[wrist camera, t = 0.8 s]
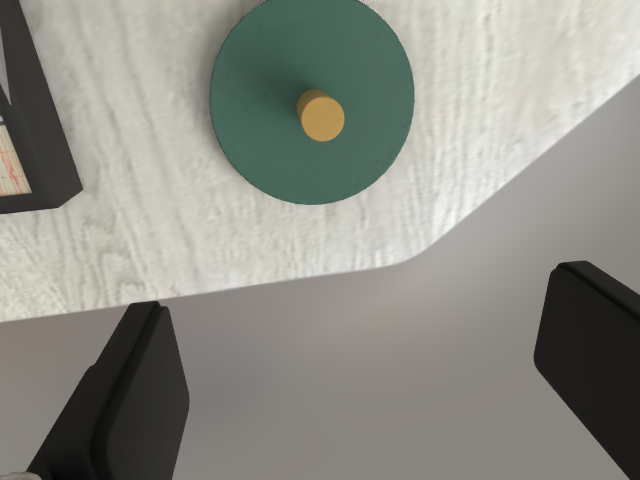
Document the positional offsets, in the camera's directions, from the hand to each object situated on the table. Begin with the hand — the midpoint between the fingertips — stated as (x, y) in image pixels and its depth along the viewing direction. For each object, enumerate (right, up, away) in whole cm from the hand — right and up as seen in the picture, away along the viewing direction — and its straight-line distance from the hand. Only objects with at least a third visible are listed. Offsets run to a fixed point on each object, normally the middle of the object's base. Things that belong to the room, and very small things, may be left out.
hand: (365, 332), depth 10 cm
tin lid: (-2, +11, +18) cm, 21 cm away
